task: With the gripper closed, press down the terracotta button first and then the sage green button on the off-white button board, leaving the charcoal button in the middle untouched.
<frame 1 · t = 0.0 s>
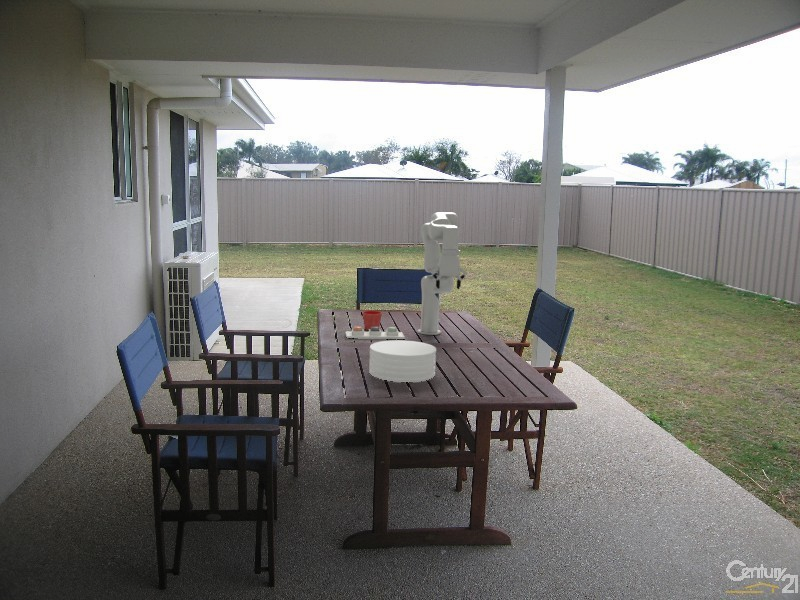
hand: (448, 288, 333), 31 cm above the table, tool pointing down, fingers open, 9 cm apart
charcoal button: (375, 329, 366), point 4 cm above the table, slide at 0.0 cm
plate stack: (402, 374, 297), on the table
sage button: (392, 329, 367), point 4 cm above the table, slide at 0.0 cm
button board: (374, 336, 367), on the table
flower pot: (371, 329, 385), on the table
terracotta button: (357, 329, 365), point 4 cm above the table, slide at 0.0 cm
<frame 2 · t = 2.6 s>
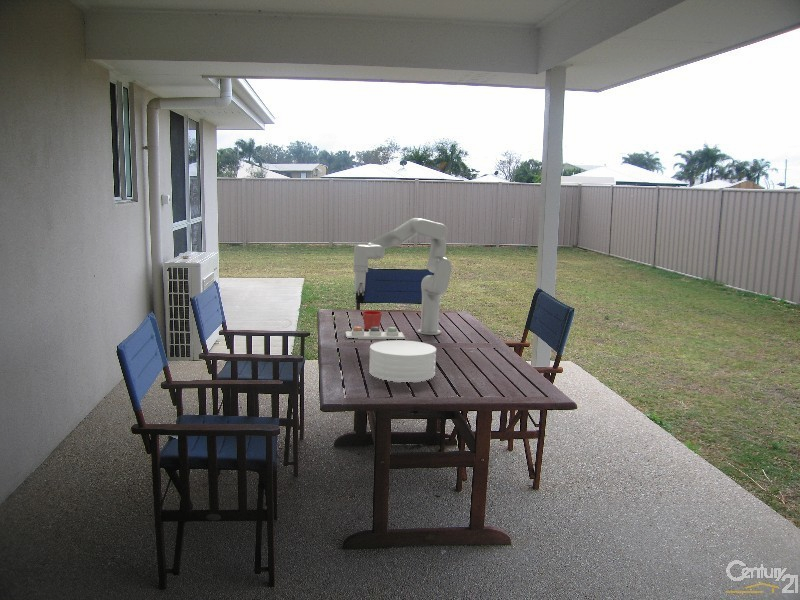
hand: (359, 301, 362), 19 cm above the table, tool pointing down, fingers open, 9 cm apart
nothing on the table moved.
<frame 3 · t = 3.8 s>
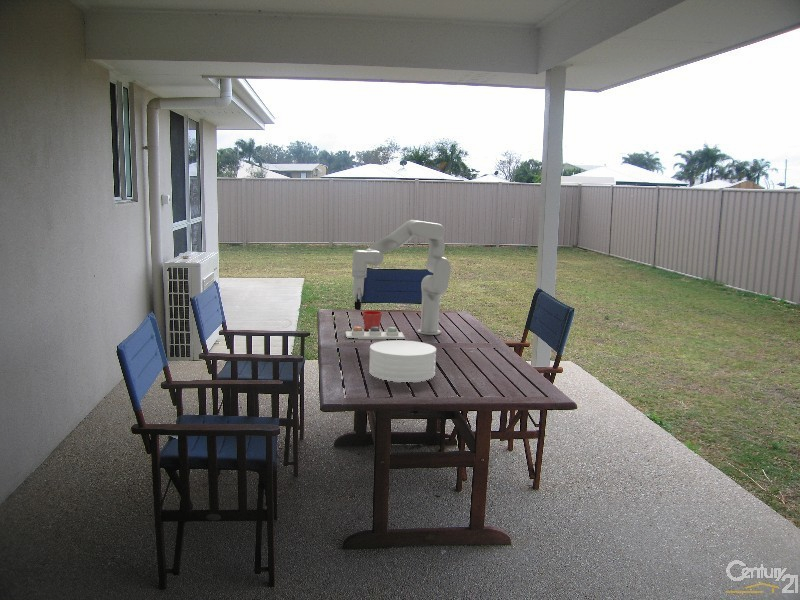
hand: (357, 309, 363), 15 cm above the table, tool pointing down, fingers closed
nothing on the table moved.
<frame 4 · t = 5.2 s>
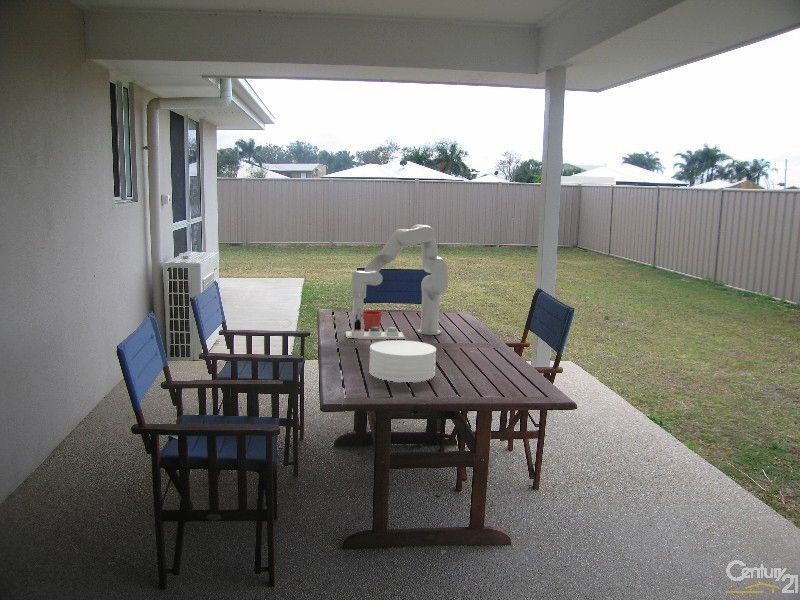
hand: (357, 329, 365), 4 cm above the table, tool pointing down, fingers closed
terracotta button: (357, 331, 365), point 3 cm above the table, slide at 1.1 cm, touching gripper
everything else where it was.
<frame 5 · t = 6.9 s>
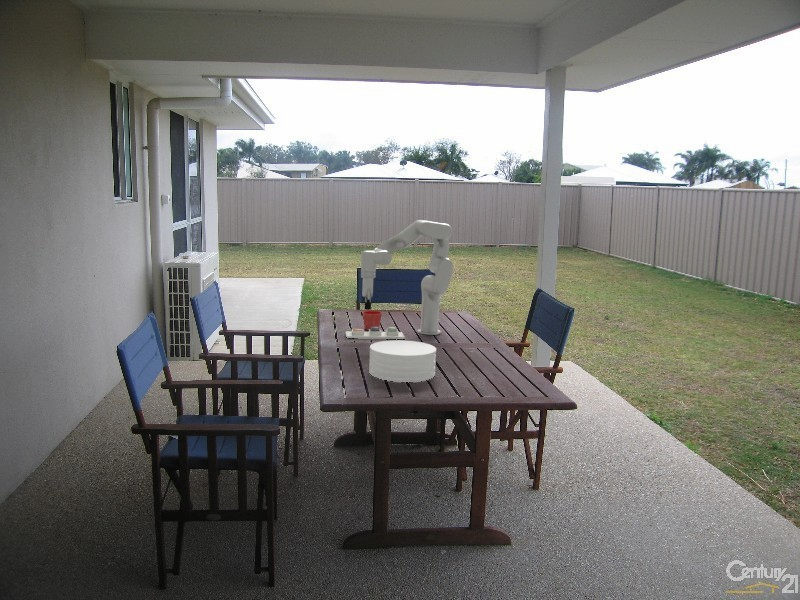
hand: (367, 309, 364), 15 cm above the table, tool pointing down, fingers closed
terracotta button: (357, 331, 365), point 3 cm above the table, slide at 1.2 cm
everything else where it was.
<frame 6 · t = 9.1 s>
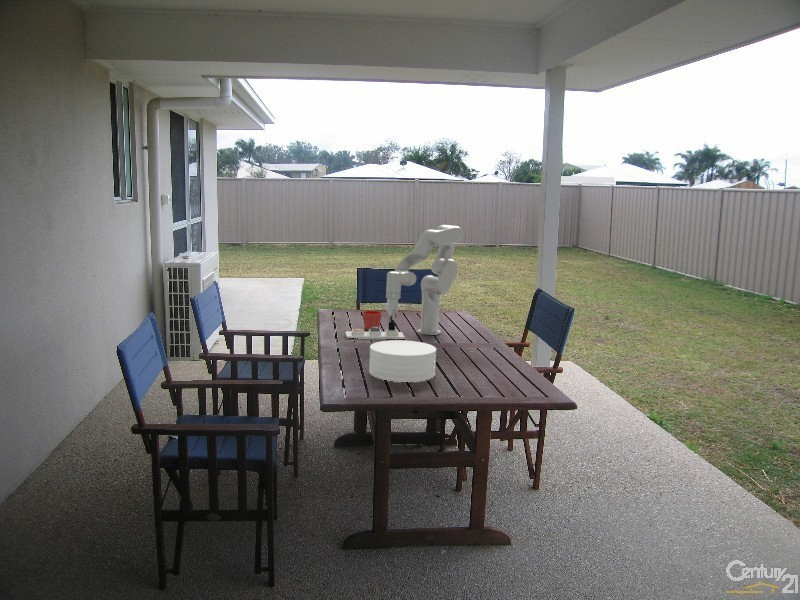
hand: (391, 329, 367), 4 cm above the table, tool pointing down, fingers closed
sage button: (392, 331, 367), point 3 cm above the table, slide at 1.1 cm, touching gripper
everything else where it was.
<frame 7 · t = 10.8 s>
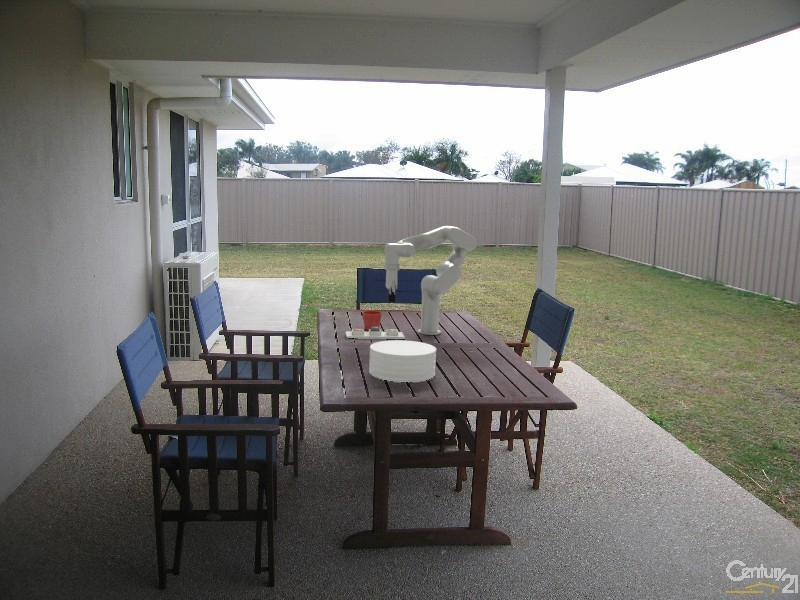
hand: (391, 301, 368), 18 cm above the table, tool pointing down, fingers closed
sage button: (392, 331, 367), point 3 cm above the table, slide at 1.2 cm
everything else where it was.
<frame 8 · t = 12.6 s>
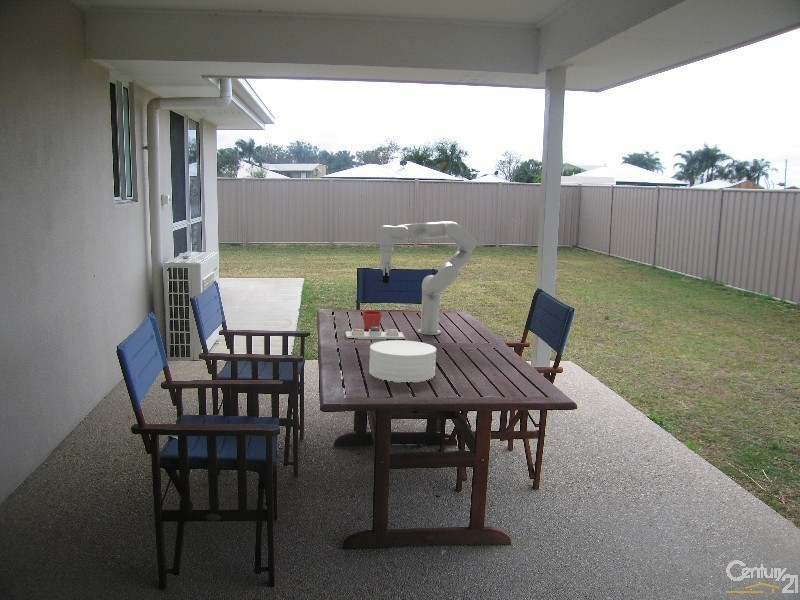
hand: (385, 282, 375), 27 cm above the table, tool pointing down, fingers closed
nothing on the table moved.
at the end: terracotta button slide at 1.2 cm; sage button slide at 1.2 cm; charcoal button slide at 0.0 cm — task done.
